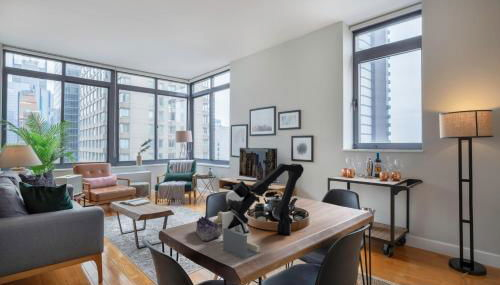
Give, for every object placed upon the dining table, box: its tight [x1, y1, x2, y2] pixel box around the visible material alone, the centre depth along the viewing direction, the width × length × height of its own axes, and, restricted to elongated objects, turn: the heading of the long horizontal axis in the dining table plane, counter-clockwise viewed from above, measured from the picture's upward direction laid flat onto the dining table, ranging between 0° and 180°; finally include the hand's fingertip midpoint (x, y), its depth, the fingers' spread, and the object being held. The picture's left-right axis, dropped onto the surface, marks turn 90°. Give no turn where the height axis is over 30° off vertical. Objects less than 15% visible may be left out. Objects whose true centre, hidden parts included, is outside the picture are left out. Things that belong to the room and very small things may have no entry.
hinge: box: [235, 222, 251, 234], centre depth 152 cm, size 17×5×10 cm, turn 25°
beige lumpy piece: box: [213, 211, 223, 225], centre depth 157 cm, size 11×9×9 cm
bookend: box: [222, 228, 260, 260], centre depth 121 cm, size 10×14×10 cm
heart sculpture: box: [225, 190, 244, 202], centre depth 176 cm, size 16×5×18 cm, turn 125°
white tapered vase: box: [221, 211, 236, 234], centre depth 133 cm, size 6×6×14 cm
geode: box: [195, 215, 221, 242], centre depth 143 cm, size 20×12×10 cm, turn 30°
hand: (226, 227), depth 132 cm, fingers closed on white tapered vase, 5 cm apart
